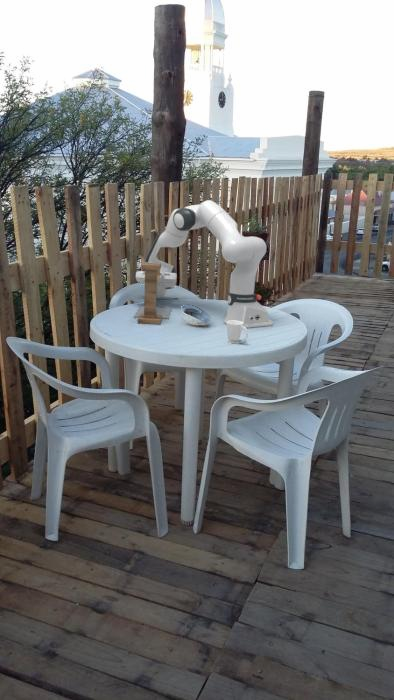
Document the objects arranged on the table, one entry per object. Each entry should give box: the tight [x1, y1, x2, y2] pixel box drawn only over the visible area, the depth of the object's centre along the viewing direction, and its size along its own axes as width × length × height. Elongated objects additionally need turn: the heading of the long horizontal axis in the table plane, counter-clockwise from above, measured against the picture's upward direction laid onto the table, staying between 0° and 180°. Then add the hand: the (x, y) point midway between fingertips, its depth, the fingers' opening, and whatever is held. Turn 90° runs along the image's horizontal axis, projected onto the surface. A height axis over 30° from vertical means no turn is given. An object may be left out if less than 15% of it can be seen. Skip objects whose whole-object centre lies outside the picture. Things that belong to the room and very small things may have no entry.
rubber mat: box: [133, 305, 172, 320], centre depth 274 cm, size 22×16×1 cm
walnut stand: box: [137, 261, 163, 326], centre depth 254 cm, size 10×10×26 cm
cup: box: [225, 320, 249, 344], centre depth 230 cm, size 7×10×8 cm
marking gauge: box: [157, 270, 160, 281], centre depth 269 cm, size 16×6×6 cm, turn 179°
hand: (155, 271), depth 274 cm, fingers closed on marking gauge, 3 cm apart
